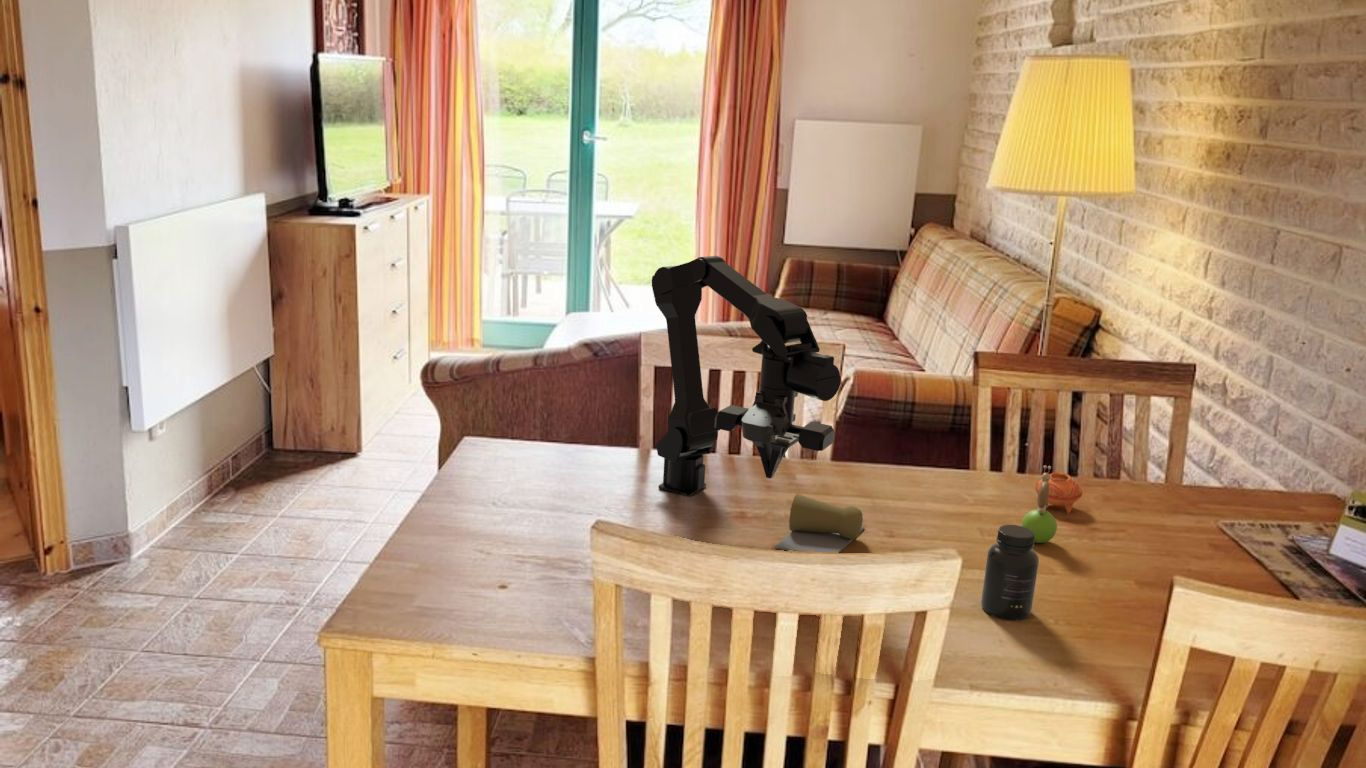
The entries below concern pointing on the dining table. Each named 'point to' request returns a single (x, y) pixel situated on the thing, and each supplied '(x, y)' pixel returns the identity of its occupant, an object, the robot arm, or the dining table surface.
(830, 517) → the cork
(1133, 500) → the dining table surface
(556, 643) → the dining table surface
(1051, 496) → the pot
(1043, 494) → the snail figurine
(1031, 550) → the supplement bottle
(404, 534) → the dining table surface
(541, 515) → the dining table surface
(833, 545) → the mat
